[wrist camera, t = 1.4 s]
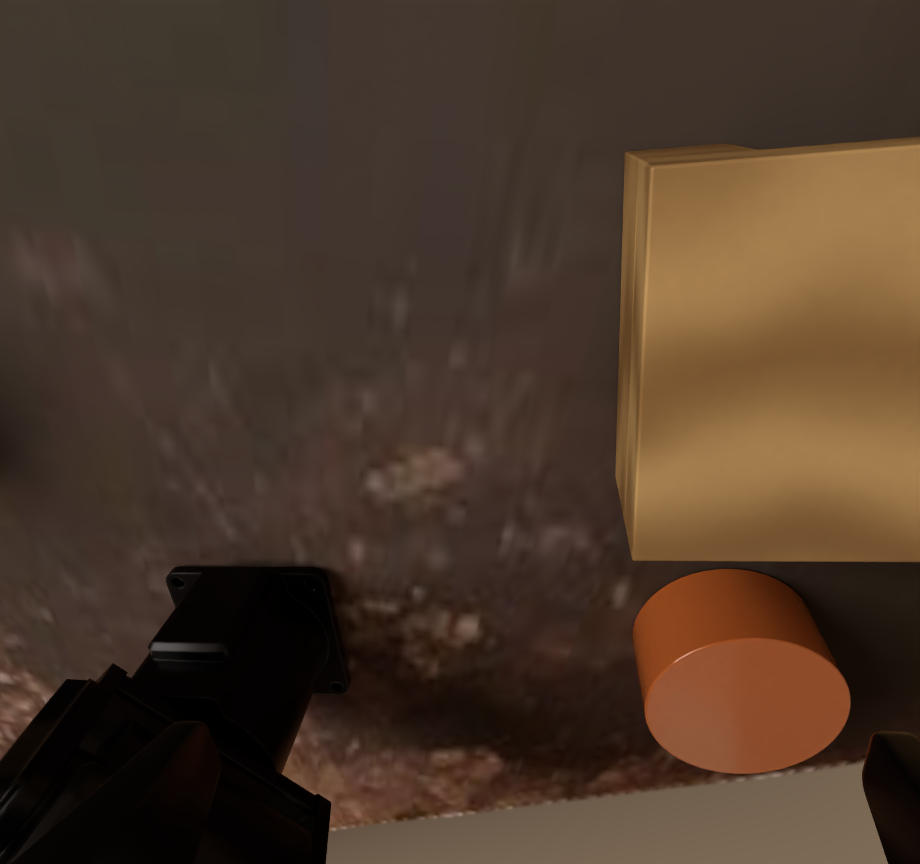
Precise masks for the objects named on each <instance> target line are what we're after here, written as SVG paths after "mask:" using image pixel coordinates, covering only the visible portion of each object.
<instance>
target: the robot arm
mask: <svg viewBox="0 0 920 864" xmlns="http://www.w3.org/2000/svg"><path fill="white" fill-rule="evenodd" d="M180 579H181V580H182V581H181V580H180ZM310 579H312V580H315V581H316V582H317V583H315V582H312V581H311V580H310ZM166 583H167V586H168V589H169V591H170V594H171V597H172V599H173V602H174V605H175V609H174V611H173V612H172V614H171V615H170V616H169V618H168V619H167V620H166V622H165V623H164V625H163V626H162V627H161V629H160V630H159V631H158V633H157V634H156V636H155V637H154V638H153V640H152V641H151V642H150V644H149V646H148V649H149V651H150V653H149V654H148V656H147V657H146V658H145V660H144V661H143V662H142V664H141V665H140V667H139V668H138V669H137V671H136V672H135V674H134V675H133V676H132V678H130V677H128V676H126V674H127V673H128V672H126V671H125V670H123V669H121V668H120V667H118V666H117V665H115V664H114V663H113V664H112V665H111V666H110V667H109V668H108V669H107V670H106V671H105V672H104V673H103V674H102V675H101V677H100V678H99V679H98V680H97V681H96V682H95V681H93V680H92V679H89V680H73V679H67V680H66V681H65V682H64V683H63V684H62V685H61V686H60V687H59V689H58V690H57V691H56V692H55V693H54V695H53V696H52V697H51V698H50V699H49V701H48V702H47V703H46V704H45V705H44V707H43V708H42V709H41V710H40V711H39V713H38V714H37V715H36V716H35V718H34V719H33V720H32V721H31V722H30V724H29V725H28V726H27V727H26V728H25V730H24V731H23V732H22V733H21V735H20V736H19V737H18V738H17V739H16V741H15V742H14V743H13V744H12V746H11V747H10V748H9V749H8V751H7V752H6V753H5V754H4V756H3V757H2V758H1V759H0V864H326V854H327V842H328V832H329V822H330V811H331V802H330V801H329V800H327V799H325V798H324V797H322V796H321V795H319V794H316V795H314V794H312V793H310V792H309V791H307V790H306V789H304V788H303V787H301V786H299V785H298V784H296V783H295V782H293V781H292V780H290V779H288V778H287V777H285V776H284V775H282V772H283V769H284V766H285V764H286V761H287V759H288V756H289V754H290V751H291V748H292V746H293V743H294V741H295V738H296V736H297V733H298V731H299V728H300V725H301V723H302V720H303V718H304V715H305V713H306V710H307V707H308V705H309V702H310V700H311V697H312V695H313V694H316V695H344V694H345V693H347V691H348V689H349V686H350V683H351V679H350V675H349V670H348V666H347V661H346V657H345V652H344V648H343V644H342V639H341V635H340V630H339V626H338V621H337V617H336V613H335V608H334V604H333V599H332V595H331V591H330V586H329V582H328V578H327V575H326V574H325V573H324V572H323V571H322V570H320V569H318V568H314V567H184V566H179V567H175V568H174V569H172V571H171V572H170V573H169V574H168V576H167V578H166ZM862 781H863V788H864V792H865V795H866V798H867V801H868V804H869V807H870V810H871V813H872V816H873V819H874V822H875V825H876V828H877V831H878V834H879V837H880V840H881V843H882V846H883V849H884V852H885V855H886V858H887V861H888V864H920V738H919V737H917V736H916V735H914V734H912V733H910V732H907V731H876V732H874V733H873V734H872V736H871V738H870V742H869V746H868V750H867V754H866V759H865V763H864V767H863V771H862Z"/></svg>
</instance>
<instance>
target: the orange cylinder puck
mask: <svg viewBox="0 0 920 864" xmlns="http://www.w3.org/2000/svg"><path fill="white" fill-rule="evenodd" d="M632 640H633V648H634V654H635V660H636V666H637V672H638V678H639V684H640V690H641V696H642V702H643V708H644V714H645V718H646V723H647V725H648V727H649V730H650V732H651V733H652V735H653V736H654V738H655V739H656V740H657V742H658V743H659V744H660V745H661V746H662V747H663V748H664V749H665V750H667V751H668V752H669V753H670V754H672V755H673V756H675V757H677V758H678V759H680V760H682V761H684V762H686V763H688V764H691V765H693V766H696V767H699V768H702V769H706V770H710V771H715V772H721V773H731V774H753V773H763V772H770V771H775V770H779V769H783V768H786V767H789V766H792V765H795V764H798V763H800V762H802V761H805V760H807V759H809V758H811V757H812V756H814V755H816V754H818V753H819V752H820V751H822V750H823V749H825V748H826V747H827V746H828V745H829V744H830V743H832V742H833V741H834V740H835V738H836V737H837V736H838V735H839V734H840V732H841V731H842V729H843V728H844V726H845V724H846V722H847V719H848V717H849V713H850V707H851V697H850V691H849V687H848V684H847V682H846V680H845V678H844V676H843V674H842V672H841V670H840V669H839V667H838V665H837V663H836V661H835V659H834V657H833V655H832V653H831V652H830V650H829V648H828V646H827V644H826V642H825V640H824V638H823V636H822V634H821V633H820V631H819V629H818V627H817V625H816V623H815V621H814V619H813V617H812V616H811V614H810V612H809V610H808V608H807V606H806V604H805V603H804V602H803V600H802V599H801V597H800V596H799V595H798V594H797V593H796V592H795V591H794V590H792V589H791V588H790V587H788V586H787V585H786V584H784V583H782V582H780V581H779V580H777V579H775V578H772V577H770V576H767V575H765V574H762V573H758V572H754V571H749V570H743V569H713V570H706V571H701V572H697V573H693V574H690V575H687V576H684V577H681V578H679V579H677V580H675V581H673V582H671V583H669V584H668V585H666V586H664V587H663V588H661V589H660V590H659V591H657V592H656V593H655V594H654V595H653V596H652V597H651V598H650V599H649V600H648V601H647V602H646V603H645V604H644V606H643V607H642V609H641V610H640V612H639V614H638V616H637V618H636V621H635V624H634V627H633V634H632Z"/></svg>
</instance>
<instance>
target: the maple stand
mask: <svg viewBox="0 0 920 864" xmlns="http://www.w3.org/2000/svg"><path fill="white" fill-rule="evenodd" d="M615 476H616V481H617V486H618V491H619V496H620V501H621V506H622V511H623V516H624V521H625V526H626V531H627V536H628V541H629V546H630V551H631V556H632V559H633V560H634V561H784V562H920V137H909V138H897V139H885V140H872V141H860V142H848V143H835V144H823V145H811V146H799V147H786V148H774V149H762V150H756V149H751V148H746V147H741V146H736V145H732V144H727V143H724V144H712V145H700V146H688V147H676V148H664V149H652V150H640V151H628V152H626V153H625V168H624V202H623V236H622V270H621V304H620V338H619V372H618V406H617V440H616V475H615Z"/></svg>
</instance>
